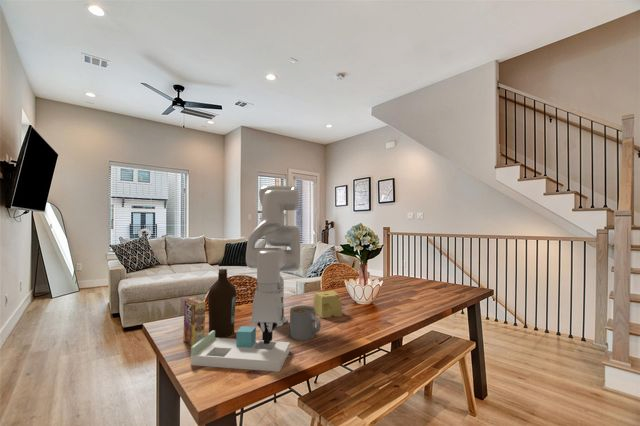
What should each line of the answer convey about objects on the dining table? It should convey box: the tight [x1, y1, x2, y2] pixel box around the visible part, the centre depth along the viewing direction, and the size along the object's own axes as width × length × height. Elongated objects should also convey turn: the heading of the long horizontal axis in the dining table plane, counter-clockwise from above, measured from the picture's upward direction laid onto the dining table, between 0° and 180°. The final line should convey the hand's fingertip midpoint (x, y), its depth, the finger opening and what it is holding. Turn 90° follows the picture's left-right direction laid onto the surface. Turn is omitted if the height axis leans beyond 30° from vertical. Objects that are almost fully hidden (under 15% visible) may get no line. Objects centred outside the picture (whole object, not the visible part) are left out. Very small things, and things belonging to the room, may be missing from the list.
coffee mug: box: [289, 305, 322, 341], centre depth 116 cm, size 13×10×10 cm
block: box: [235, 325, 257, 348], centre depth 101 cm, size 5×5×5 cm
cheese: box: [313, 290, 343, 319], centre depth 144 cm, size 10×11×10 cm
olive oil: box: [207, 268, 237, 338], centre depth 119 cm, size 11×11×25 cm
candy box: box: [182, 297, 207, 347], centre depth 109 cm, size 9×4×15 cm, turn 47°
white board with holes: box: [190, 330, 291, 373], centre depth 98 cm, size 14×28×6 cm, turn 83°
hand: (267, 342), depth 100 cm, fingers closed
